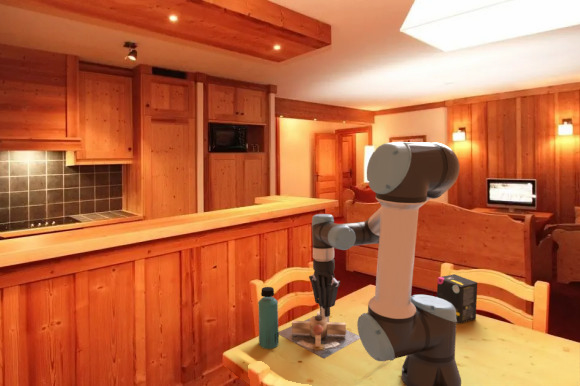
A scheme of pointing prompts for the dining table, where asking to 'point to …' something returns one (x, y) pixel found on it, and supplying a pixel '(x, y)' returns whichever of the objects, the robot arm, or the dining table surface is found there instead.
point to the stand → (328, 343)
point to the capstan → (319, 328)
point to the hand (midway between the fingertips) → (325, 324)
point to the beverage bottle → (268, 319)
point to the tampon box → (459, 295)
